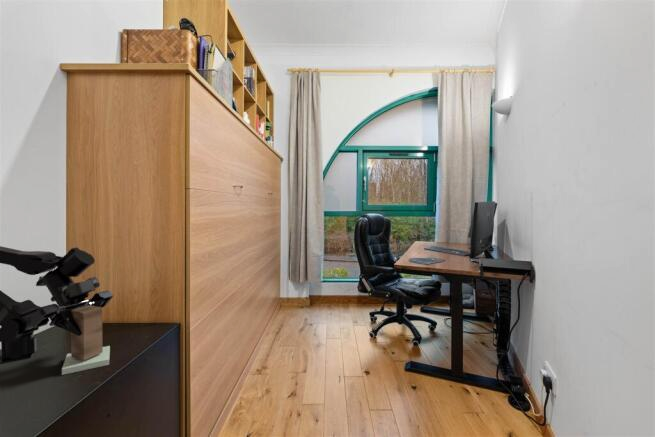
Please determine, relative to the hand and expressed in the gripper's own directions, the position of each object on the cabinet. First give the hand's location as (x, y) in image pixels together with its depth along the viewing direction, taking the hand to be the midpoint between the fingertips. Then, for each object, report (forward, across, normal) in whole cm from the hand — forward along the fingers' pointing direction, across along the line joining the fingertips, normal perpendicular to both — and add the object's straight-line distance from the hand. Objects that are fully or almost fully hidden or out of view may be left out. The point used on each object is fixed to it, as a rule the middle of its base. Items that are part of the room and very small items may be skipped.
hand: (90, 331), depth 88 cm
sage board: (+5, 0, +7) cm, 9 cm away
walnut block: (+4, 0, +6) cm, 7 cm away
